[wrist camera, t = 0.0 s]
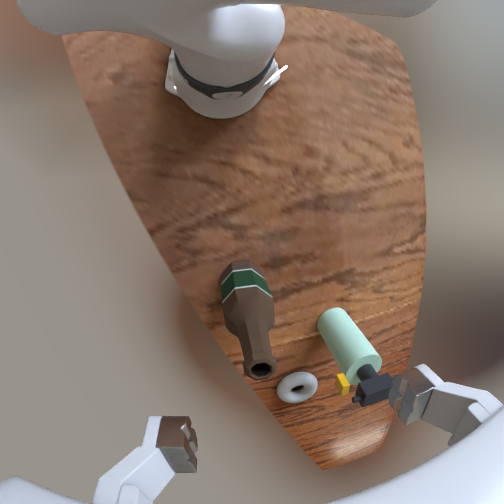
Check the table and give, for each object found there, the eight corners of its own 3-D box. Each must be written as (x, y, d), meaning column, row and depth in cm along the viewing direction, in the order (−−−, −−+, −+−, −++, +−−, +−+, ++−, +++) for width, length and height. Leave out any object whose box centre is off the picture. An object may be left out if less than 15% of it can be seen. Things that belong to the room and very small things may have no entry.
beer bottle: (255, 301, 51) (281, 397, 28) (215, 292, 49) (216, 389, 27) (268, 264, 49) (308, 348, 26) (226, 253, 47) (235, 336, 25)
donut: (302, 398, 62) (323, 372, 60) (305, 407, 59) (327, 382, 57) (268, 392, 60) (288, 365, 57) (270, 402, 57) (291, 375, 54)
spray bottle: (312, 311, 53) (359, 389, 32) (348, 304, 54) (404, 373, 33) (312, 338, 56) (351, 417, 35) (345, 331, 56) (393, 402, 35)
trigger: (336, 374, 39) (343, 387, 36) (343, 372, 39) (350, 385, 36) (335, 384, 40) (341, 396, 37) (341, 382, 40) (348, 394, 37)
